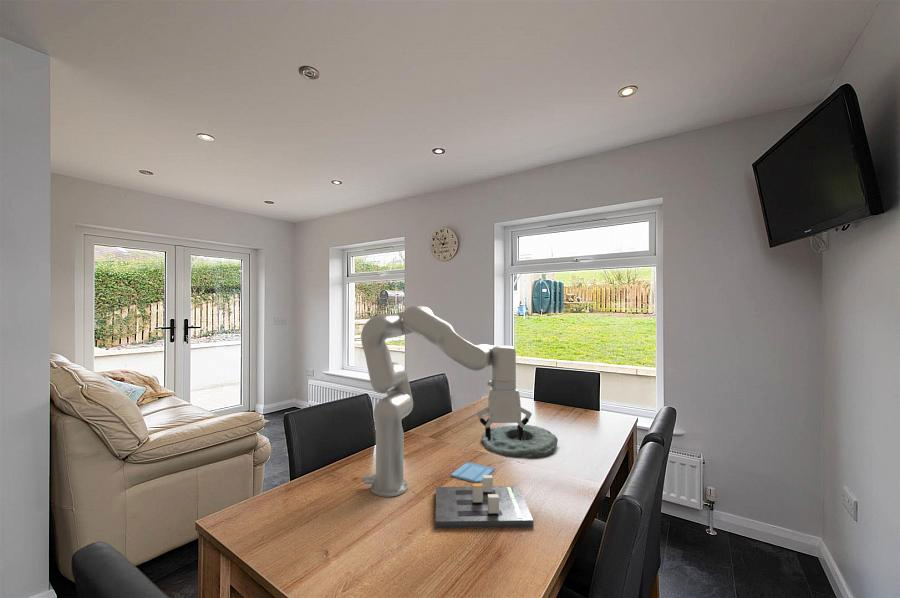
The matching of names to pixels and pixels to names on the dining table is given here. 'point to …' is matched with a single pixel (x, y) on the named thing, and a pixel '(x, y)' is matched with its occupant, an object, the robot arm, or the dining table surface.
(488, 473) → the light blue flat plate
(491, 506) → the block
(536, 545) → the dining table surface
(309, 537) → the dining table surface
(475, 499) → the block
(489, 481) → the block
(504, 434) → the stone ring
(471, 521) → the panel
